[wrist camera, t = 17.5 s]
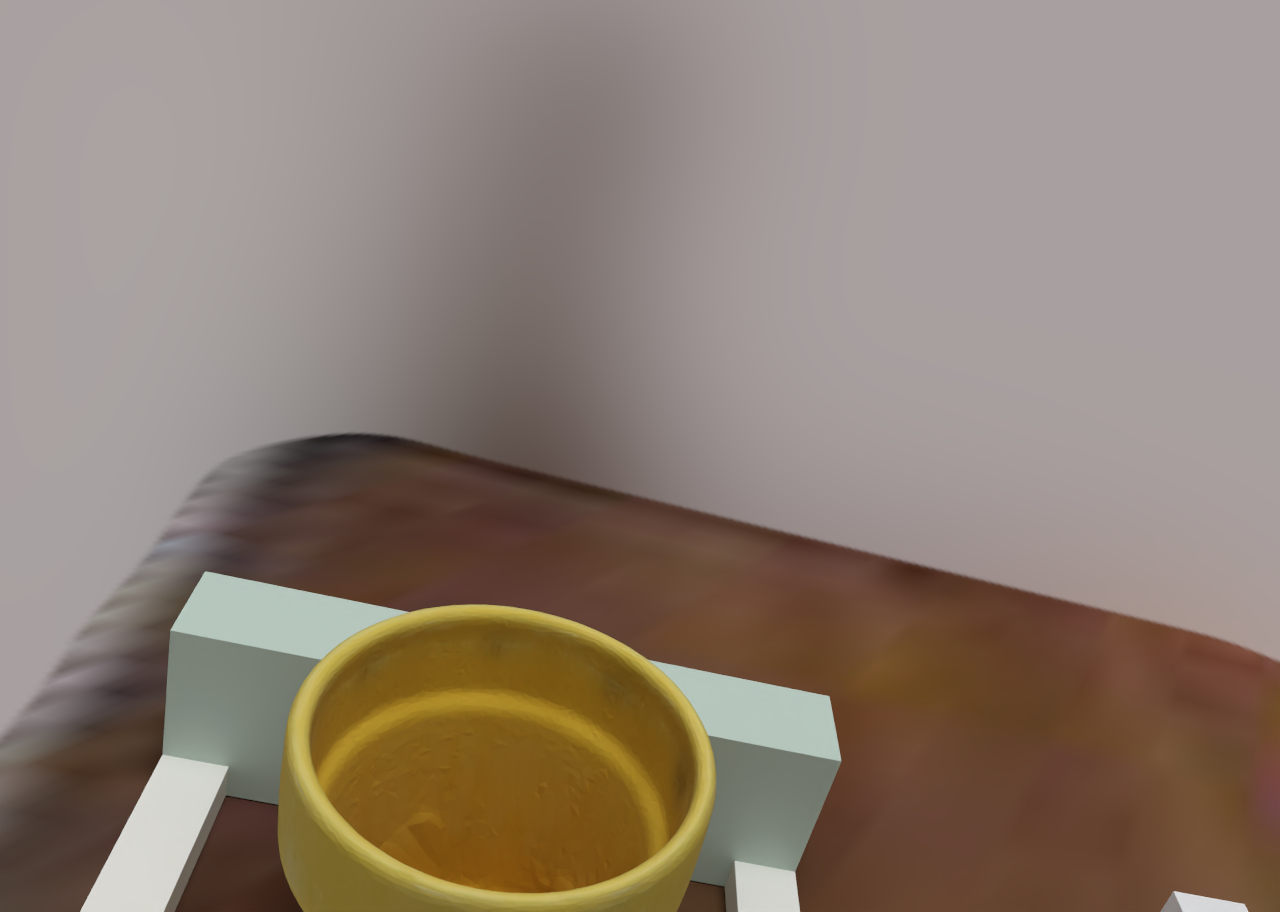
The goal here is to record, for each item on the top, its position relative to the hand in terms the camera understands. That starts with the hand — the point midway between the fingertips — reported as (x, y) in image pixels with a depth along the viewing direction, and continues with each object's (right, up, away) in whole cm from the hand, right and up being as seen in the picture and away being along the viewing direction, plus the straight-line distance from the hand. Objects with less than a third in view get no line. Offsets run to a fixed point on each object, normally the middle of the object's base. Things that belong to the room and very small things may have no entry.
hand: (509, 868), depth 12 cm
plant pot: (-4, -11, +21) cm, 24 cm away
